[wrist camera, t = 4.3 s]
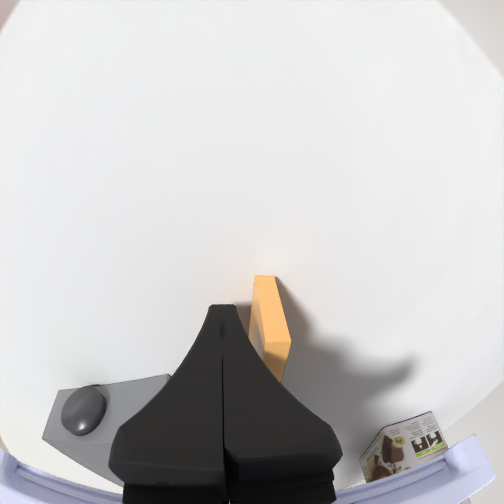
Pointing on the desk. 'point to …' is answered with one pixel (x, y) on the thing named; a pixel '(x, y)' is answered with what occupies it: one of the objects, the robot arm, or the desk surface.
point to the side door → (269, 326)
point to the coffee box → (404, 448)
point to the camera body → (96, 420)
